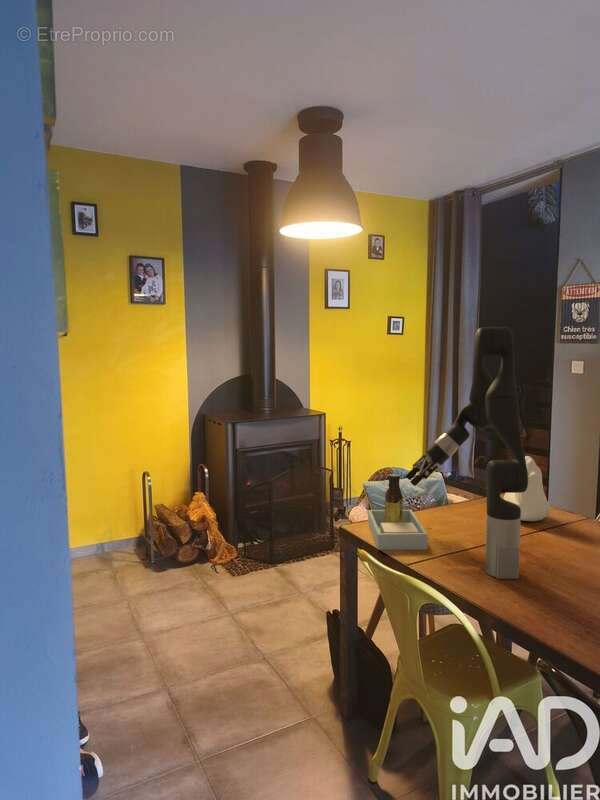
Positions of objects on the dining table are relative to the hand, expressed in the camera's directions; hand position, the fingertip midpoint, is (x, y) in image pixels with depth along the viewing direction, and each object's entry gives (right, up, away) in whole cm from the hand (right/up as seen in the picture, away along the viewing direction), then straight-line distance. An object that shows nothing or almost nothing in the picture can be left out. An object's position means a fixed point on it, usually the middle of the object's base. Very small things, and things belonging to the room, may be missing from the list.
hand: (409, 481), depth 189 cm
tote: (-6, -19, -4) cm, 20 cm away
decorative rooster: (+48, -17, +19) cm, 54 cm away
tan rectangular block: (-6, -19, -10) cm, 22 cm away
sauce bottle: (-5, -18, +2) cm, 19 cm away
